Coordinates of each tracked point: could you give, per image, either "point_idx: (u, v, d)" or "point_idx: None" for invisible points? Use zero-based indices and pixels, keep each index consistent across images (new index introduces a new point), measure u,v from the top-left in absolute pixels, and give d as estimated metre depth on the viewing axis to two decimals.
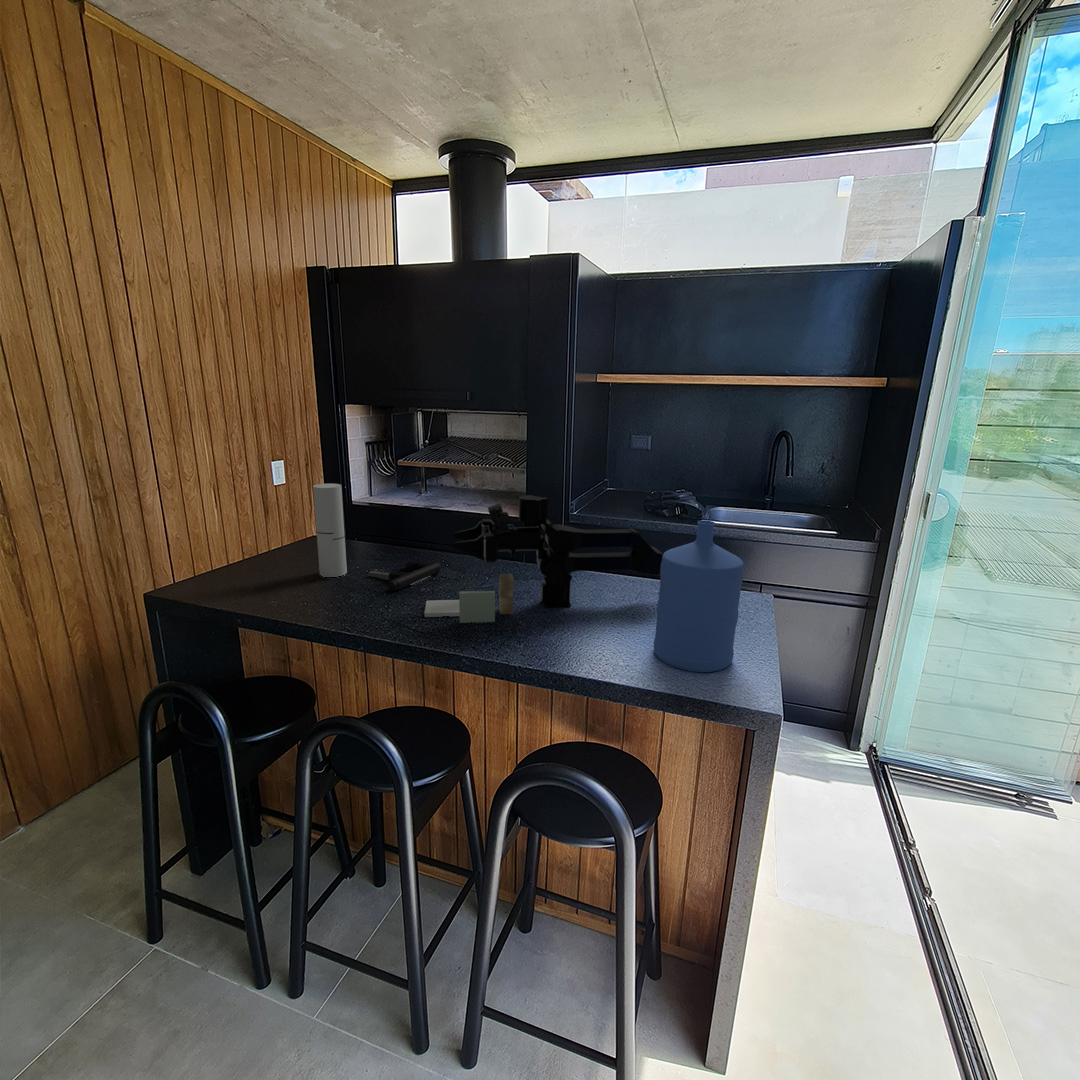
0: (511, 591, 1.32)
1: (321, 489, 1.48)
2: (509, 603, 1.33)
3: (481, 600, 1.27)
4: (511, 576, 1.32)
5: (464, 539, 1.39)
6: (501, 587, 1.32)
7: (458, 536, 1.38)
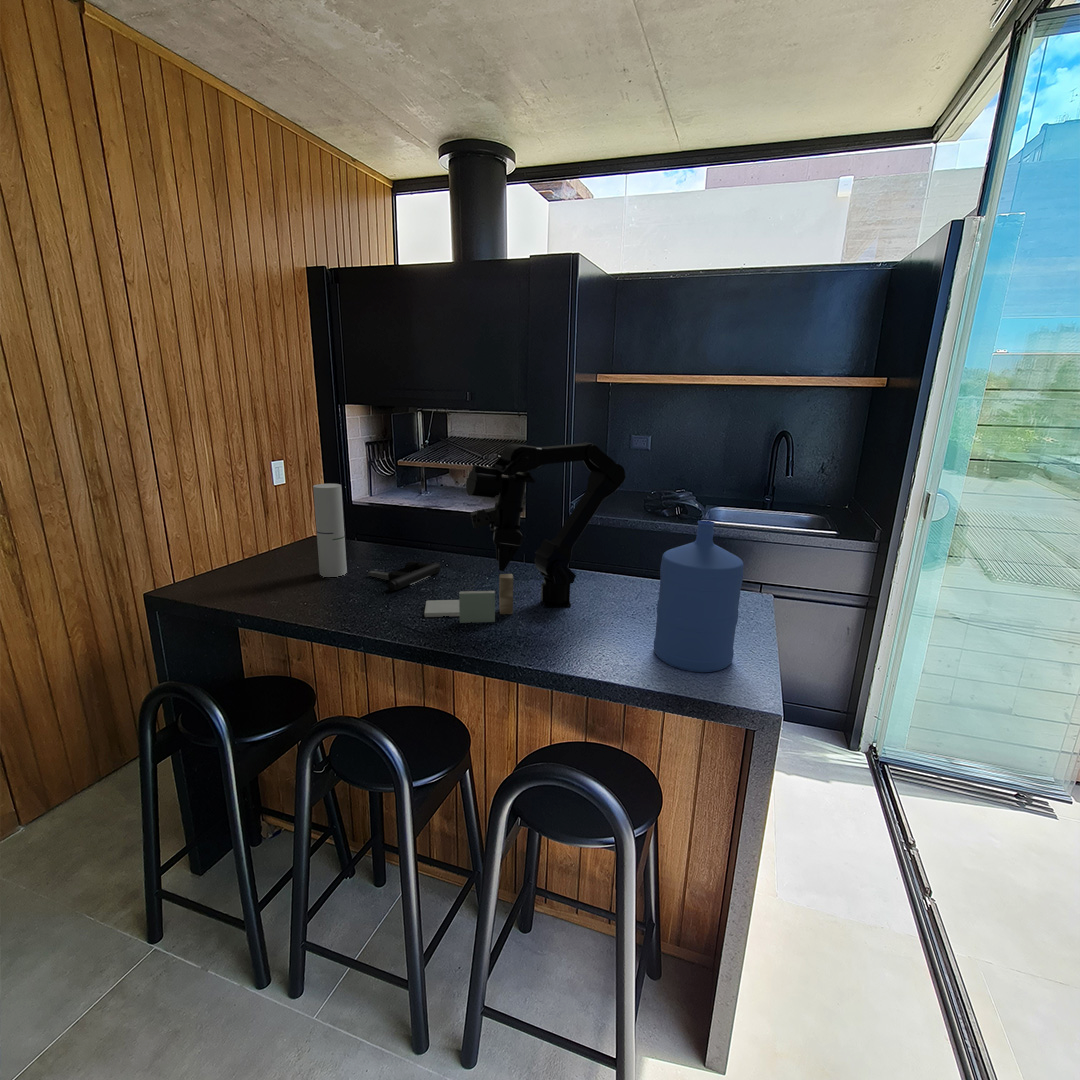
0: (511, 591, 1.32)
1: (321, 489, 1.48)
2: (509, 603, 1.33)
3: (481, 600, 1.27)
4: (511, 576, 1.32)
5: None
6: (501, 587, 1.32)
7: None
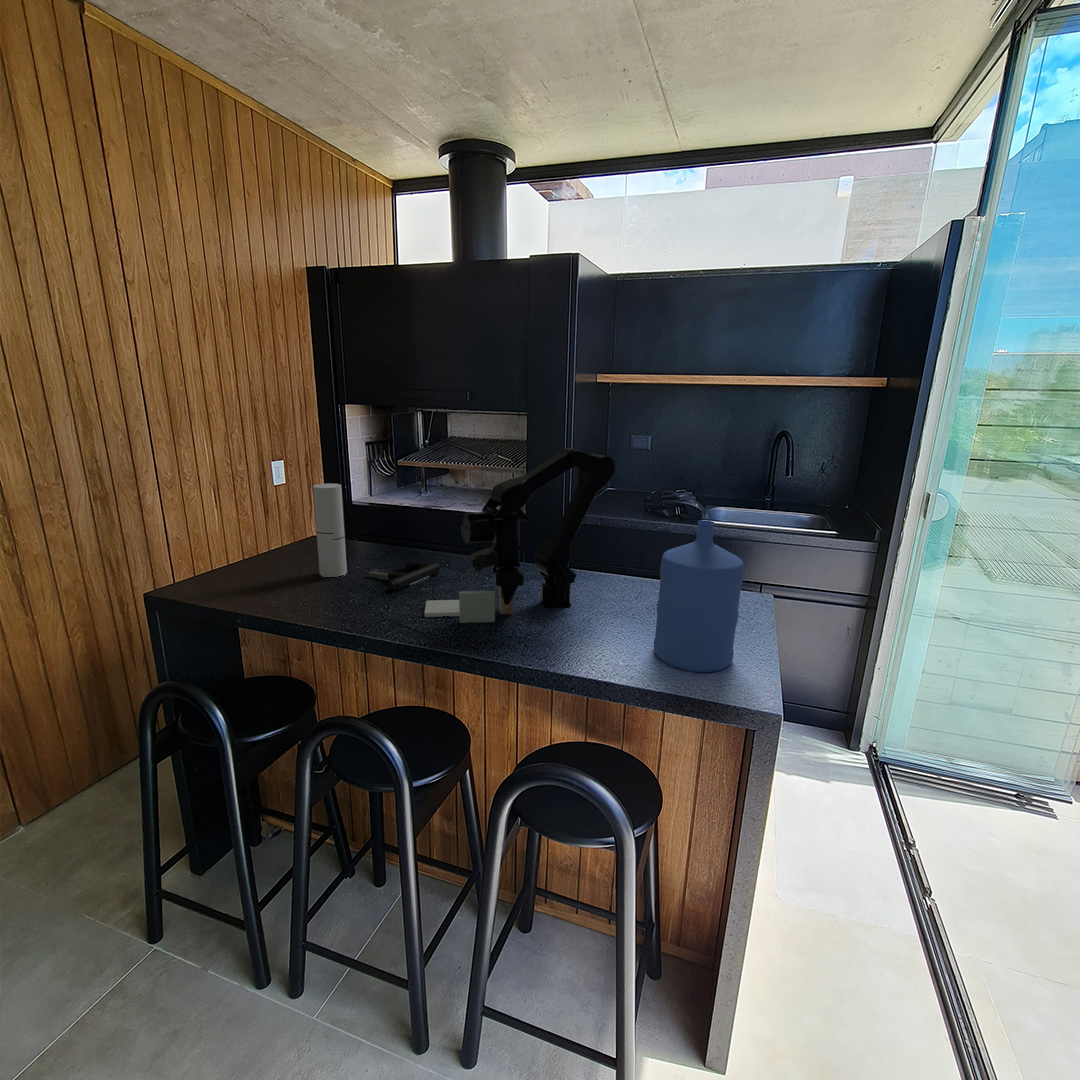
0: None
1: (321, 489, 1.48)
2: (509, 603, 1.33)
3: (481, 600, 1.27)
4: None
5: None
6: None
7: None
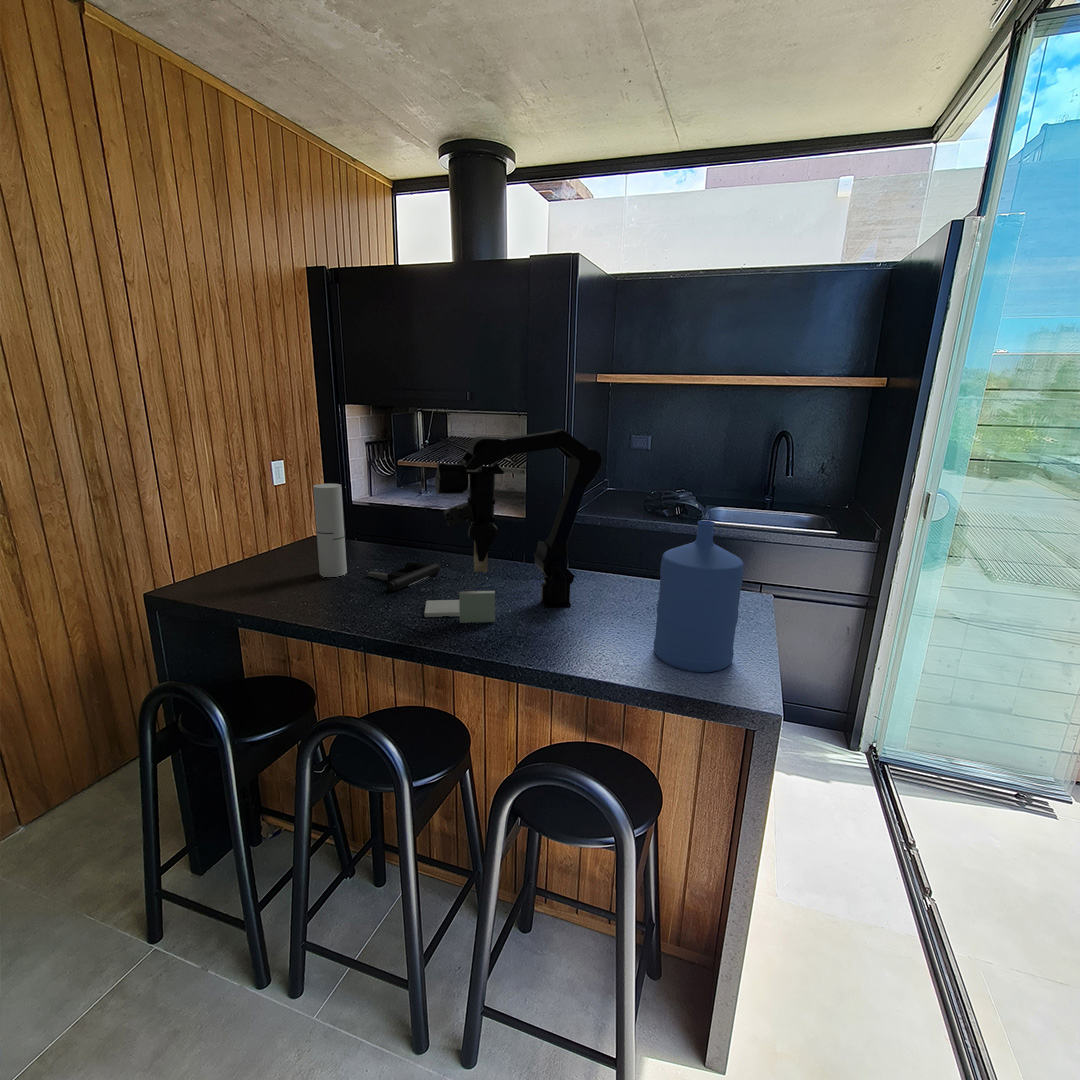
0: None
1: (321, 489, 1.48)
2: (484, 560, 1.30)
3: (481, 600, 1.27)
4: None
5: None
6: (475, 543, 1.29)
7: None
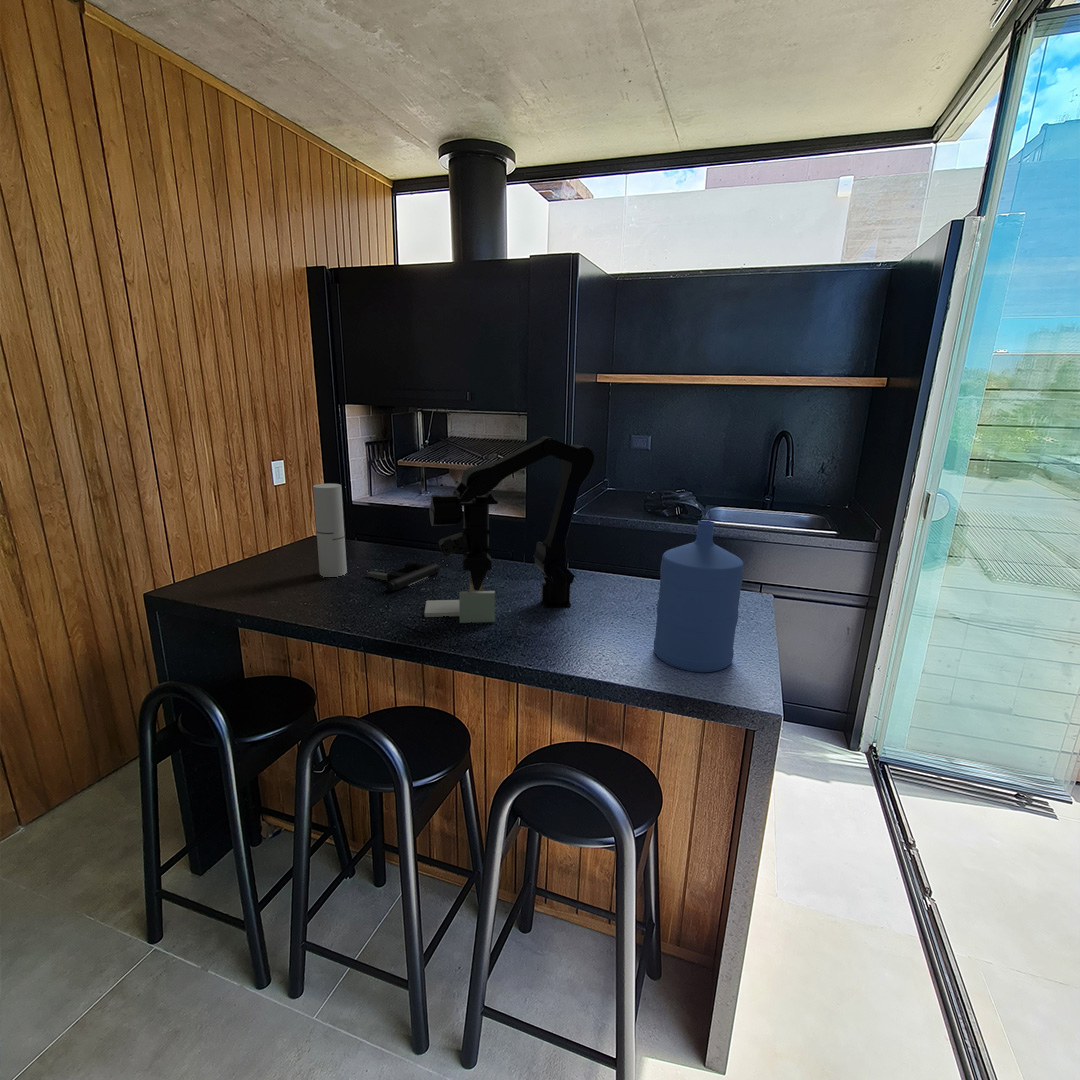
0: None
1: (321, 489, 1.48)
2: None
3: (481, 600, 1.27)
4: None
5: None
6: None
7: None
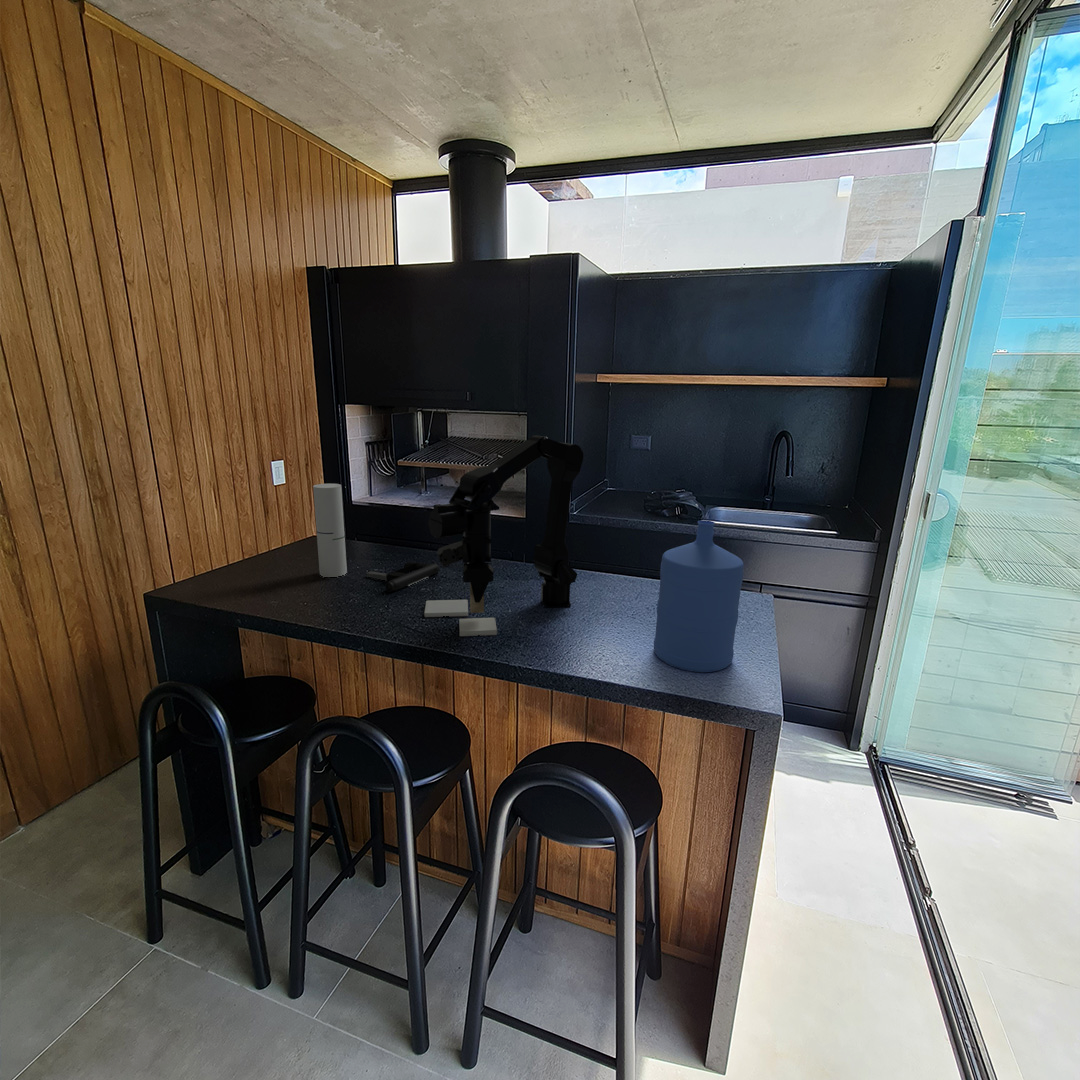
0: None
1: (321, 489, 1.48)
2: None
3: None
4: None
5: None
6: None
7: None
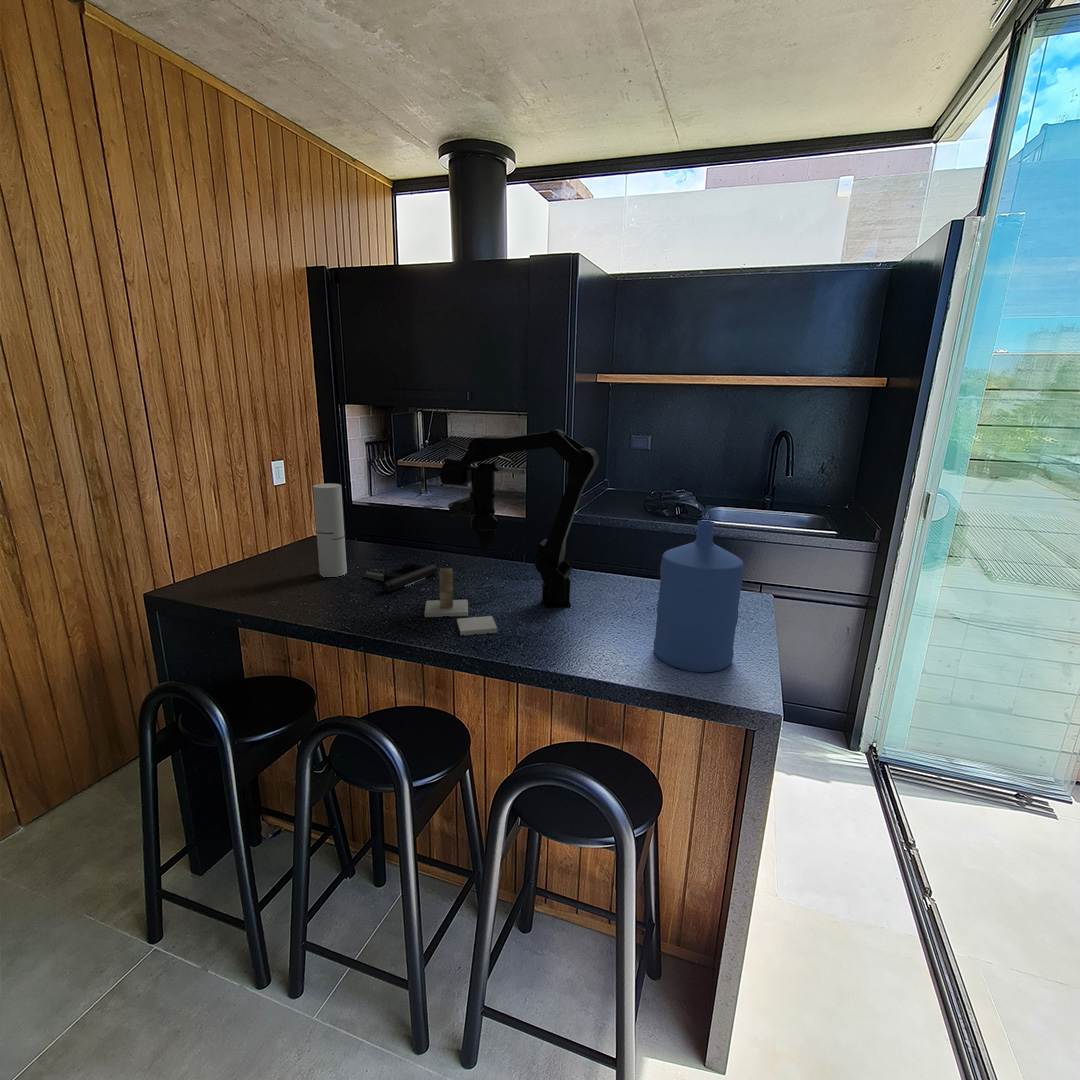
0: (451, 585, 1.32)
1: (321, 489, 1.48)
2: (449, 597, 1.33)
3: None
4: (451, 570, 1.32)
5: None
6: (440, 581, 1.31)
7: None
